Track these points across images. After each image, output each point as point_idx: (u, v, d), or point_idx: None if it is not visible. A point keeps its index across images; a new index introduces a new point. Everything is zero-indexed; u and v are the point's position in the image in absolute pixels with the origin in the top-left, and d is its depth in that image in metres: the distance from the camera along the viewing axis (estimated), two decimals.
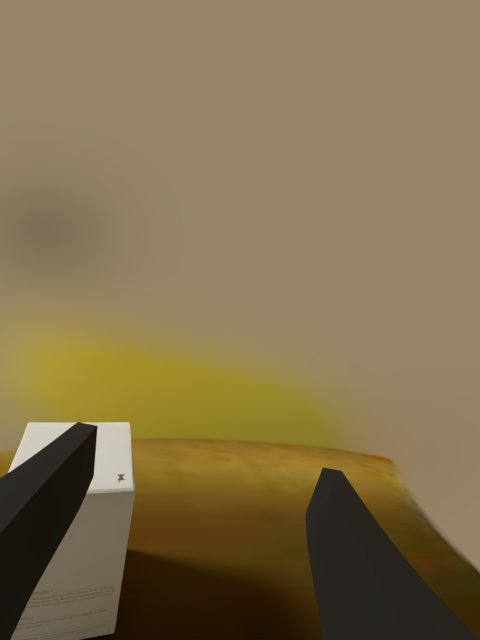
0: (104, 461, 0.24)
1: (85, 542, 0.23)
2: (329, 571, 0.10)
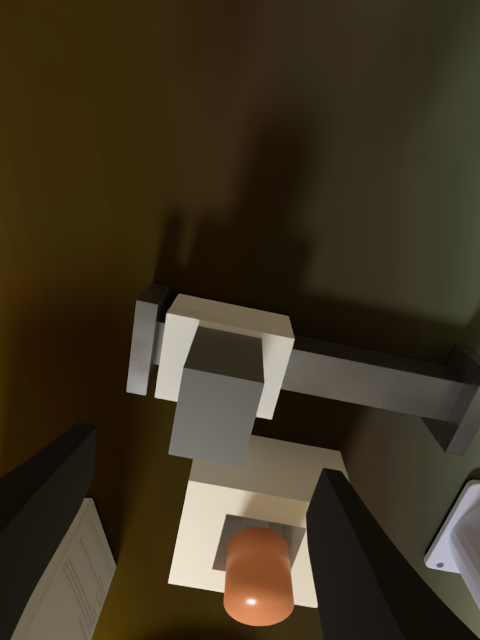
0: None
1: None
2: (328, 571, 0.10)
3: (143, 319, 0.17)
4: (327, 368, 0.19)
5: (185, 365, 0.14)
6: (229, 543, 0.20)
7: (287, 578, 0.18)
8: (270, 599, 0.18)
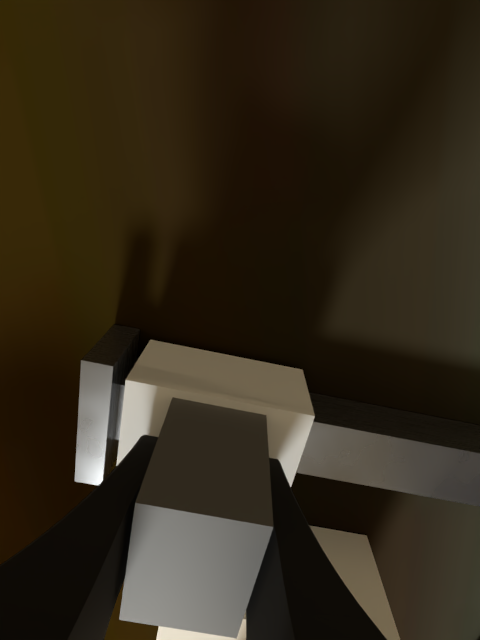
0: None
1: None
2: None
3: (93, 386, 0.12)
4: (357, 445, 0.14)
5: (140, 496, 0.08)
6: None
7: None
8: None
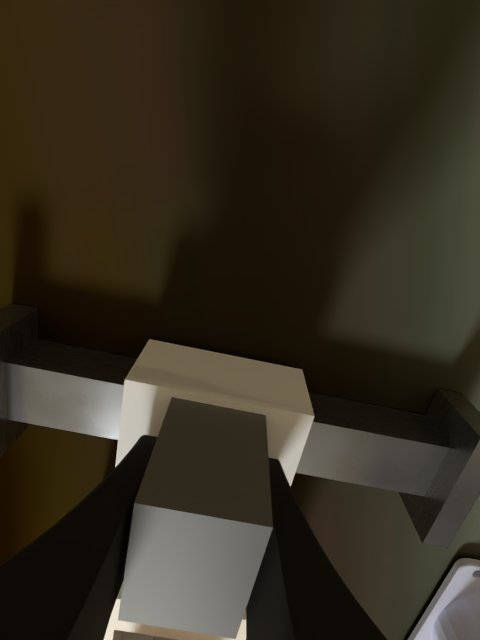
0: None
1: None
2: None
3: None
4: None
5: (138, 496, 0.08)
6: None
7: None
8: None
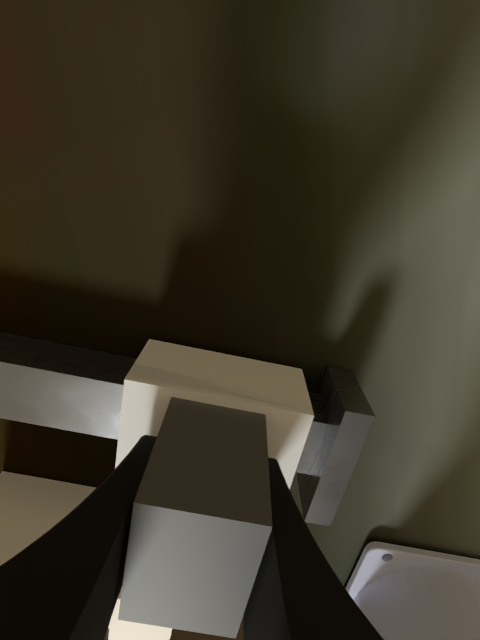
0: None
1: None
2: None
3: None
4: None
5: (138, 496, 0.08)
6: None
7: None
8: None
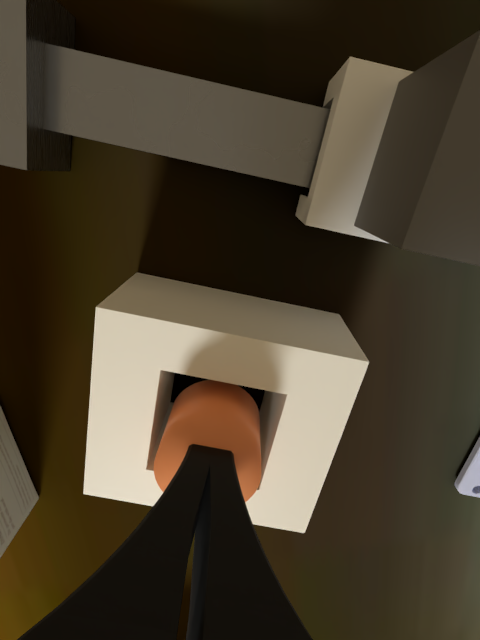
0: None
1: None
2: (198, 549, 0.10)
3: (4, 7, 0.10)
4: (318, 131, 0.12)
5: (478, 33, 0.07)
6: (173, 405, 0.14)
7: (252, 435, 0.12)
8: None
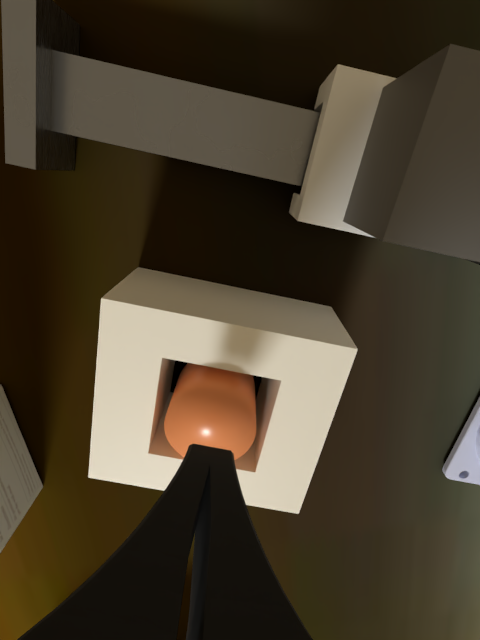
0: None
1: None
2: (198, 549, 0.10)
3: (16, 17, 0.11)
4: (309, 132, 0.13)
5: (448, 47, 0.08)
6: (179, 376, 0.16)
7: (248, 397, 0.14)
8: (225, 421, 0.14)
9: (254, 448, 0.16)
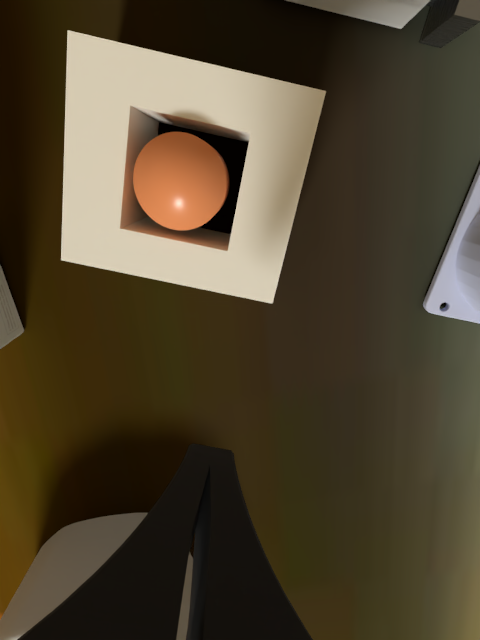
0: None
1: None
2: (198, 549, 0.10)
3: None
4: None
5: None
6: None
7: (217, 155, 0.14)
8: (194, 172, 0.13)
9: (229, 244, 0.16)
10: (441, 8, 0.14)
